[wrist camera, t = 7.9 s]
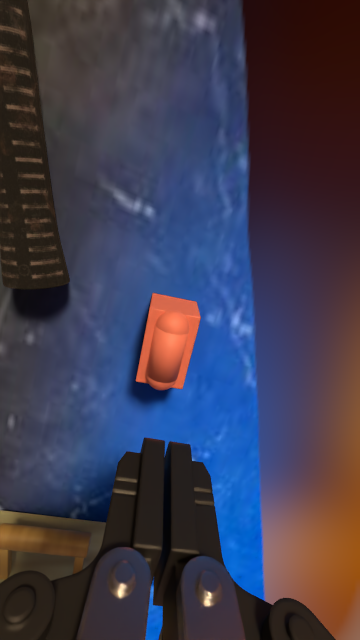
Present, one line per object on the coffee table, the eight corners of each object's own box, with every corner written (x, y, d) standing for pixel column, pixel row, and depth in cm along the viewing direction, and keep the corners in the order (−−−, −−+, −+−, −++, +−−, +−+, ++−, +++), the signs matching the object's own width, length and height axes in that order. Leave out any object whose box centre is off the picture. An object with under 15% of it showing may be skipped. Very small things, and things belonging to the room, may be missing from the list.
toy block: (139, 359, 22) (133, 392, 18) (152, 291, 20) (148, 312, 16) (180, 366, 22) (182, 400, 18) (197, 300, 20) (203, 322, 16)
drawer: (-1, 466, 24) (-69, 572, 17) (130, 483, 25) (116, 590, 18) (-1, 584, 29) (-53, 700, 23) (106, 594, 30) (88, 707, 24)
